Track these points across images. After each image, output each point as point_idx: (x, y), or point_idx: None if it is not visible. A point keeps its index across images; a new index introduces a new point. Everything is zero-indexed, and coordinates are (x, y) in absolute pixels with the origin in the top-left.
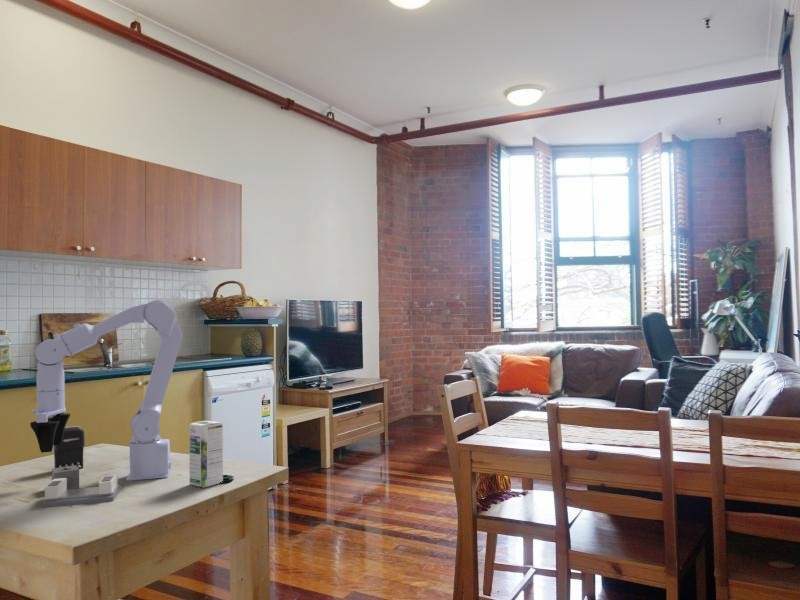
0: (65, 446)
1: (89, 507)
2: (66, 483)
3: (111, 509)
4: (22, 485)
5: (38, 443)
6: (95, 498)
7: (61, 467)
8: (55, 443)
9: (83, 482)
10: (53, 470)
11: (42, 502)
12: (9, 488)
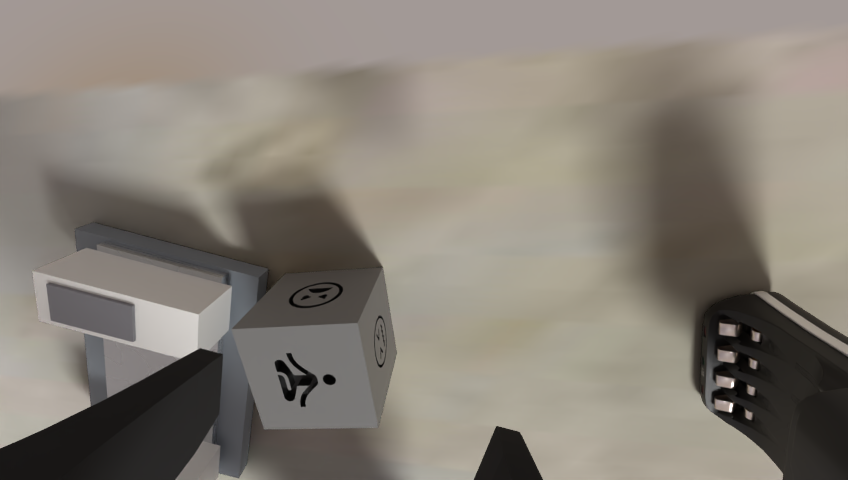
0: (798, 462)
1: (58, 364)
2: (210, 344)
3: (19, 411)
4: (577, 135)
5: (117, 393)
6: (91, 396)
7: (358, 366)
8: (484, 468)
9: (439, 380)
10: (301, 328)
11: (87, 235)
12: (553, 68)
